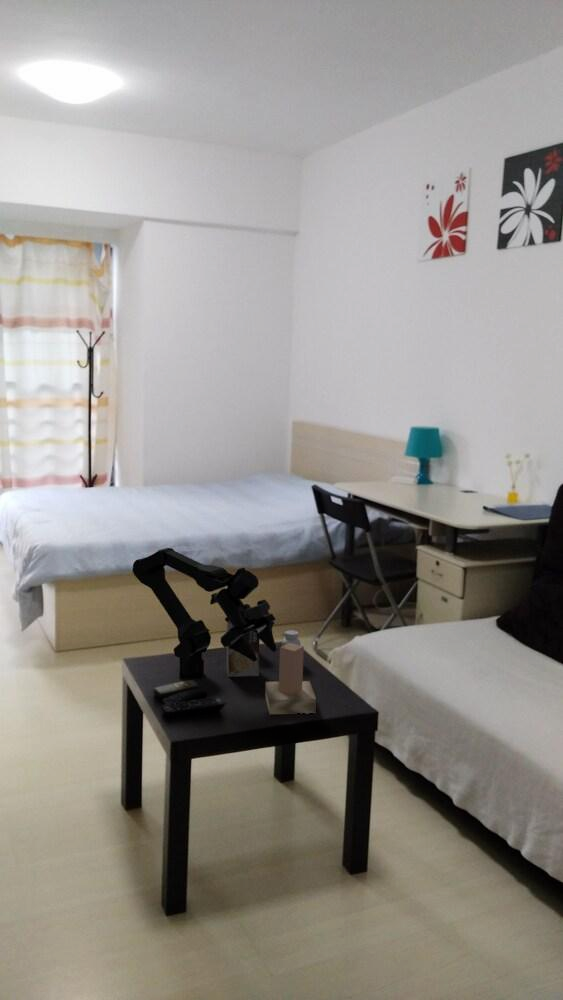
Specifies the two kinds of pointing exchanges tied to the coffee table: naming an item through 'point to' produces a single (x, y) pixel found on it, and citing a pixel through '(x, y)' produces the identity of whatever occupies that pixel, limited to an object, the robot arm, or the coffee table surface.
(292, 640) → the supplement bottle
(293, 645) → the tower block
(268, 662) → the coffee table surface
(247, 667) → the coffee box
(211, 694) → the coffee table surface
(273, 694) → the base brick
